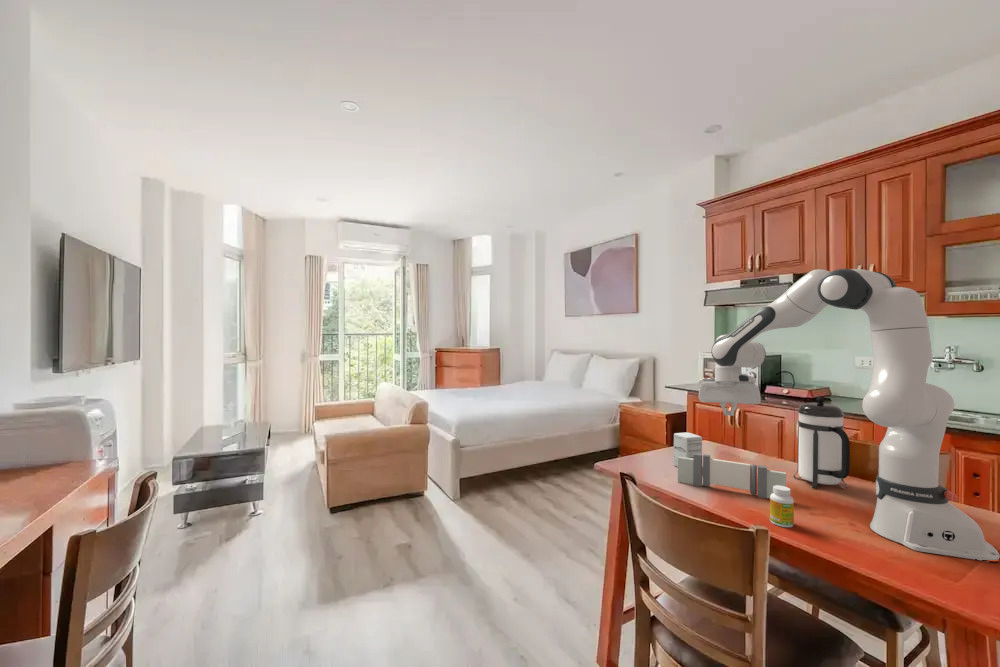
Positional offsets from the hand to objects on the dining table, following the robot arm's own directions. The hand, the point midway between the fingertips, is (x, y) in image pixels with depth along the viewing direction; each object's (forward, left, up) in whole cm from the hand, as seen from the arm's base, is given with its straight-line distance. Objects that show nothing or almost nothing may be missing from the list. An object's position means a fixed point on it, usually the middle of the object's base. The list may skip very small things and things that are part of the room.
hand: (728, 415), depth 155 cm
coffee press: (-28, -4, -21) cm, 36 cm away
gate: (-1, +19, -21) cm, 28 cm away
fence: (-1, +19, -21) cm, 28 cm away
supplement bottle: (-15, +38, -21) cm, 46 cm away
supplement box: (+14, +1, -21) cm, 26 cm away
